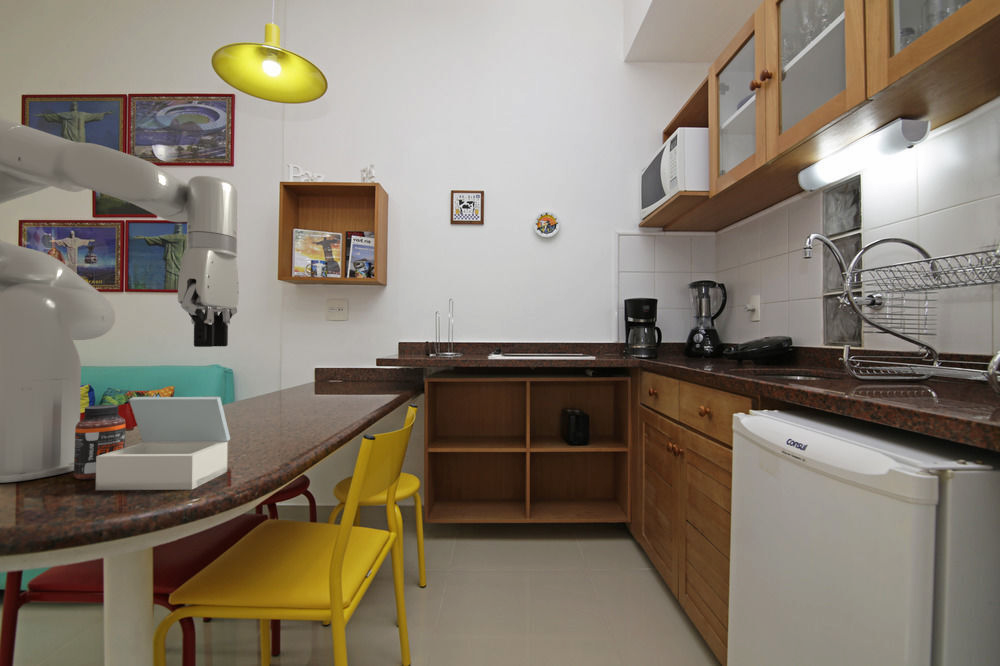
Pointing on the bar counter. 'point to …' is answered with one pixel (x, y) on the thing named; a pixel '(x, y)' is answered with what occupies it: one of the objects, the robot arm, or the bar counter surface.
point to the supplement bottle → (97, 438)
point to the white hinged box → (161, 466)
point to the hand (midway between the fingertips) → (211, 345)
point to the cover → (180, 419)
